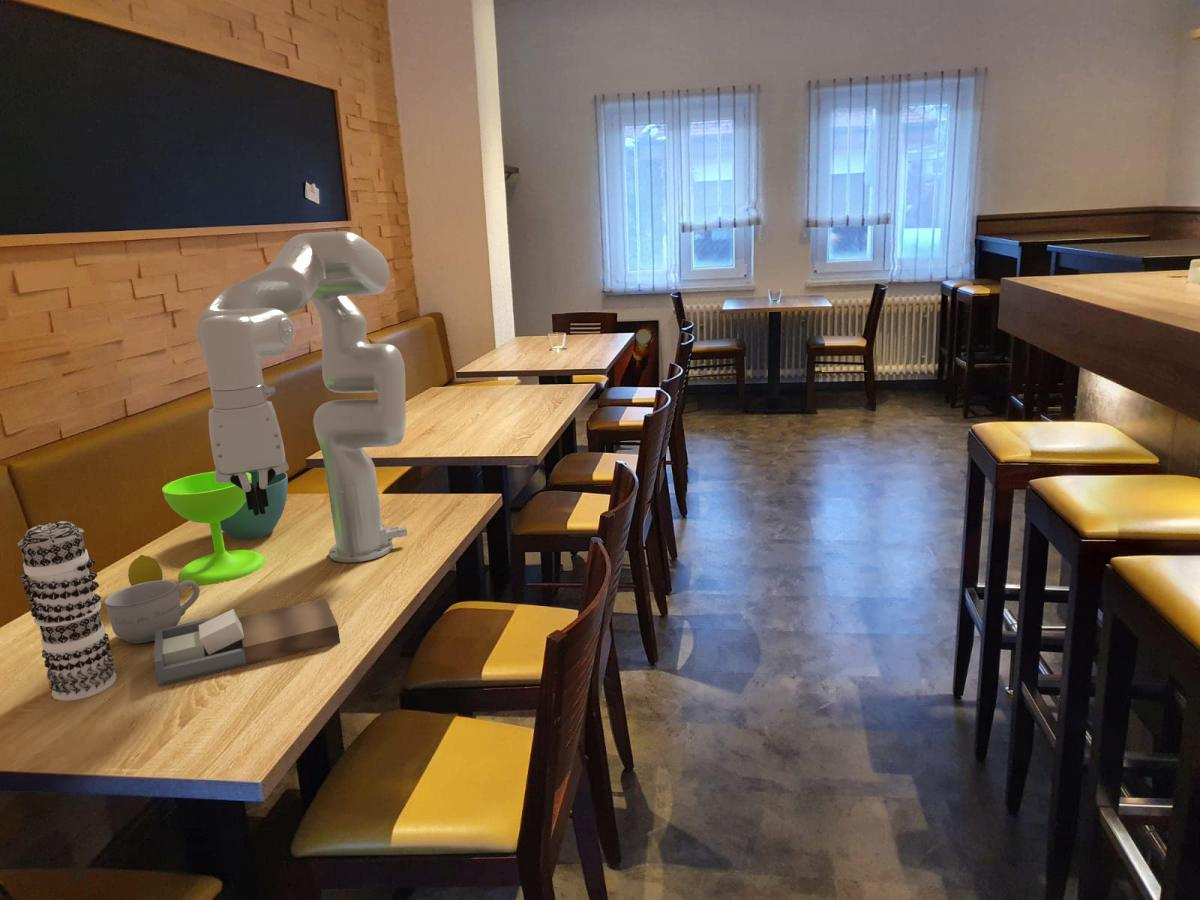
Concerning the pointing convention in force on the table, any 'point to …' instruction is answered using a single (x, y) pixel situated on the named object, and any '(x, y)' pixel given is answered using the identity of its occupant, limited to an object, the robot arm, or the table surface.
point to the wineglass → (212, 526)
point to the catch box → (198, 667)
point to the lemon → (144, 570)
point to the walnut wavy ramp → (288, 631)
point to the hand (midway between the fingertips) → (259, 512)
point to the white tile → (220, 631)
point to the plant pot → (259, 512)
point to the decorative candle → (66, 610)
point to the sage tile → (182, 648)
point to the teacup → (147, 608)
